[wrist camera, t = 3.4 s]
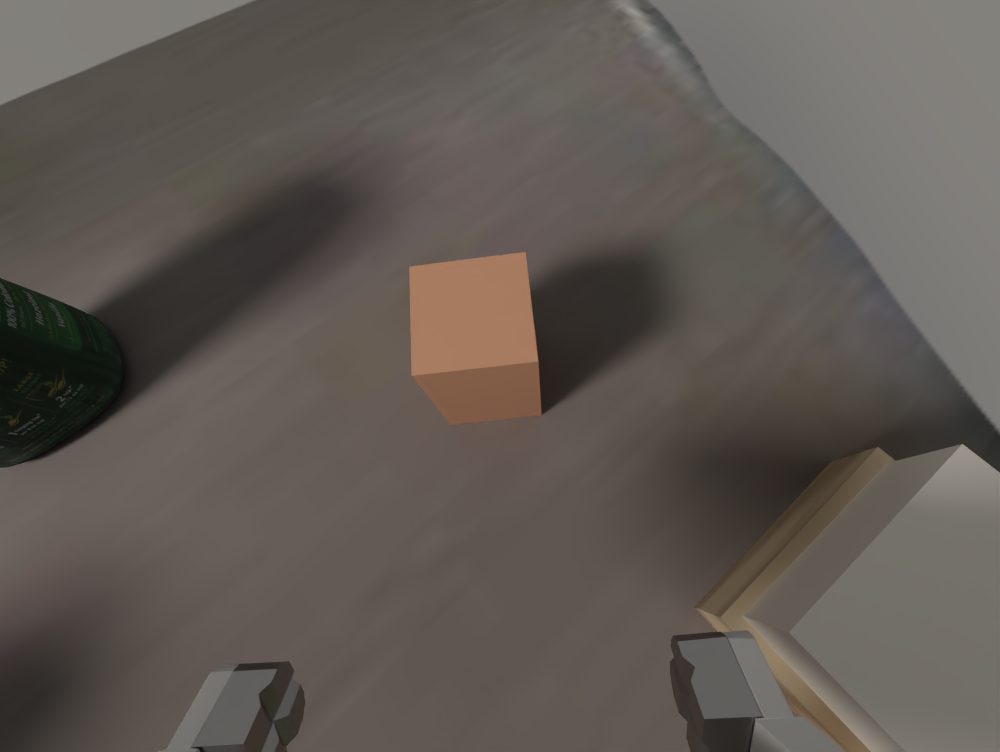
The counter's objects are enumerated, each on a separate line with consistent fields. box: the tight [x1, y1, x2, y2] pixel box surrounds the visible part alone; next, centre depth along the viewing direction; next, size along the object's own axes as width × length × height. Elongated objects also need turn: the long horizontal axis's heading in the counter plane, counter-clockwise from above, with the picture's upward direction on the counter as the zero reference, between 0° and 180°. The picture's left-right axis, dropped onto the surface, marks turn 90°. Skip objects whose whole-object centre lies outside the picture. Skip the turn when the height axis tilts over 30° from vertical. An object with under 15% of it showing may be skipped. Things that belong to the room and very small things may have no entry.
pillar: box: [409, 252, 542, 425], centre depth 23 cm, size 5×5×8 cm
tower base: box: [695, 447, 895, 752], centre depth 20 cm, size 10×10×4 cm
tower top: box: [742, 444, 1000, 752], centre depth 16 cm, size 9×9×4 cm
